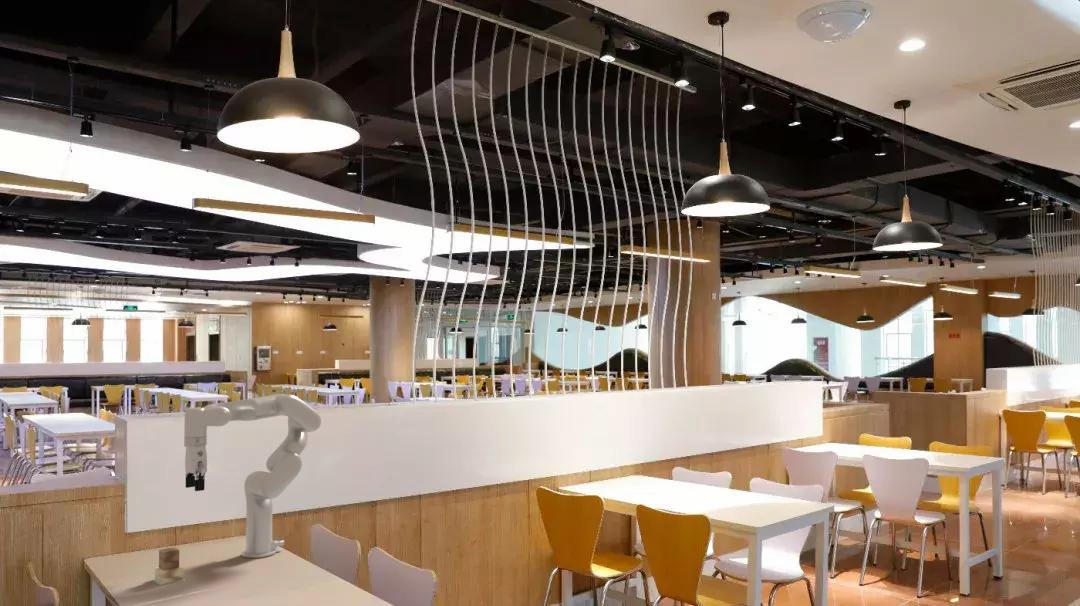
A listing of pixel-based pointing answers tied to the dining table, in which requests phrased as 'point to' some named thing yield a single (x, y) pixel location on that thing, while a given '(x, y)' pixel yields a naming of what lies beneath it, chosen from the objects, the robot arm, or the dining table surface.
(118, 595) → the dining table surface
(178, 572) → the maple block
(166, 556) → the walnut block
